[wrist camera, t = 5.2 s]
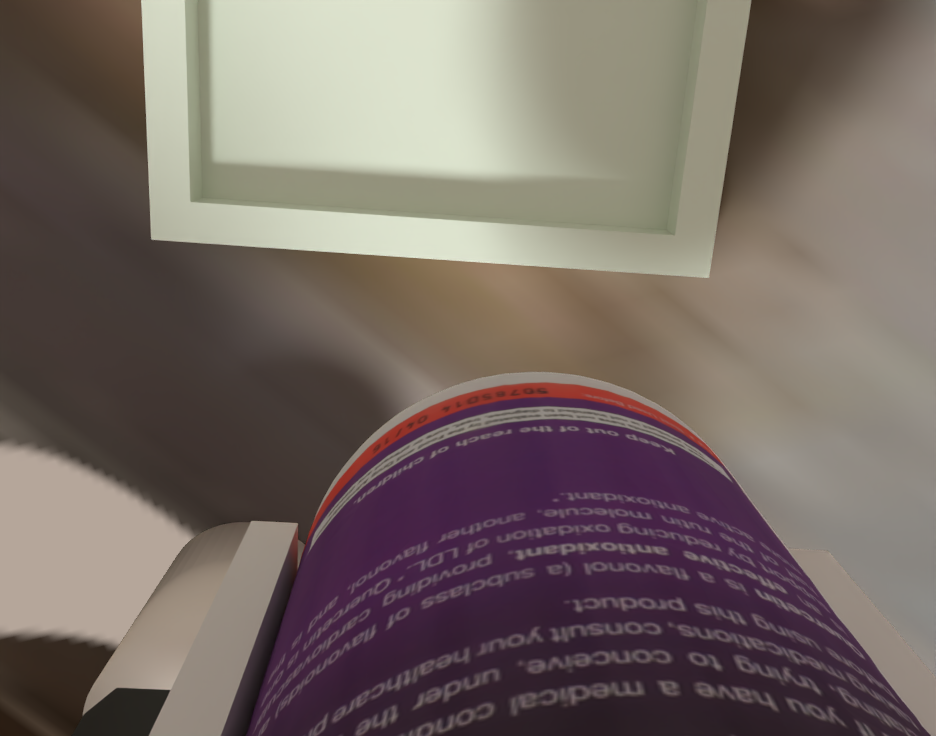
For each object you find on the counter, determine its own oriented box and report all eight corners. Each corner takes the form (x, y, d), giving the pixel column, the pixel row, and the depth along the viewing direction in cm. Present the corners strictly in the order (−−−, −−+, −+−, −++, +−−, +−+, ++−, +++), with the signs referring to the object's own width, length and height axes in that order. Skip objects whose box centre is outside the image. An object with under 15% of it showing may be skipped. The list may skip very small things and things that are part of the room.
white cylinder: (170, 661, 27) (88, 811, 21) (164, 516, 26) (75, 637, 20) (330, 670, 27) (291, 823, 21) (333, 527, 26) (293, 651, 20)
